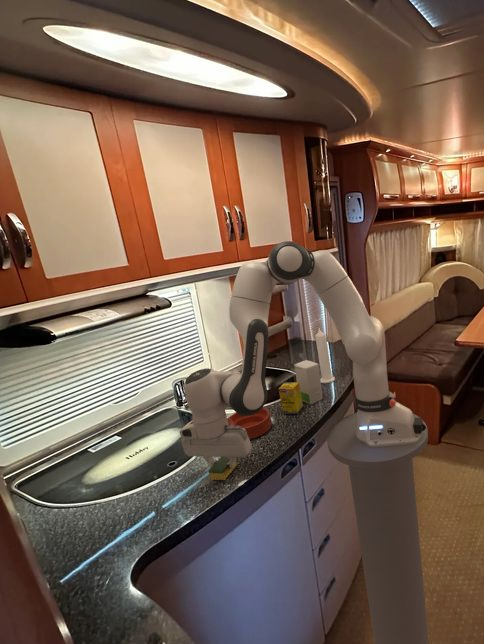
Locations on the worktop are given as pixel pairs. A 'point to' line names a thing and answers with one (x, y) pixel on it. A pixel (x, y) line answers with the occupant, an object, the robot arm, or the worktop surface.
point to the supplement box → (291, 398)
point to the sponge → (220, 469)
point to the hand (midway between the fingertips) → (222, 467)
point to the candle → (323, 357)
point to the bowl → (252, 422)
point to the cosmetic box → (309, 381)
